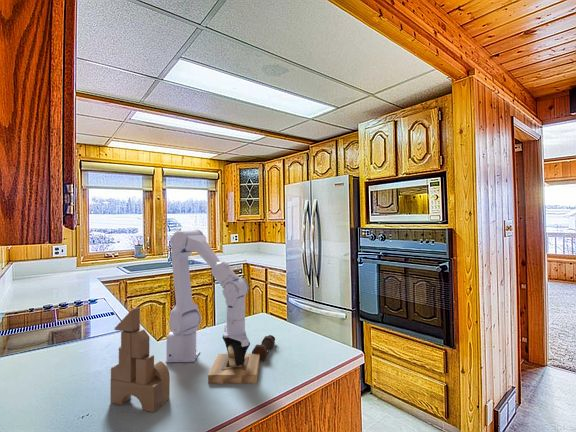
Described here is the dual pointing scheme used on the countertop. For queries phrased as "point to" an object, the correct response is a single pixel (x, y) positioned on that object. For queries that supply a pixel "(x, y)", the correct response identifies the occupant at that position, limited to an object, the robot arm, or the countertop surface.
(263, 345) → the bolt
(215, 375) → the board
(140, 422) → the countertop surface
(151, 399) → the wooden toy
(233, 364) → the peg
